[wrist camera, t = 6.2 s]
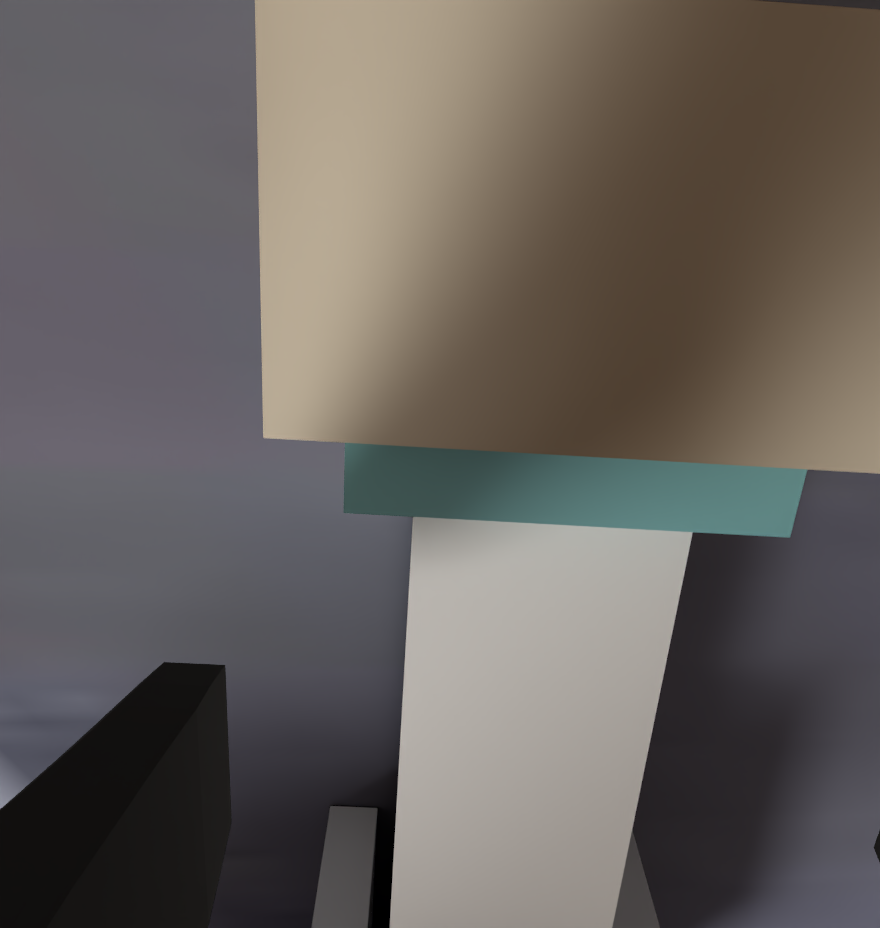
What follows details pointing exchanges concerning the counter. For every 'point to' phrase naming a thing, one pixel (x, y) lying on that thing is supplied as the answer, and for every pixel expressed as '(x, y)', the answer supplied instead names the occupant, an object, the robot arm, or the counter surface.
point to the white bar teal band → (537, 664)
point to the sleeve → (353, 866)
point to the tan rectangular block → (573, 227)
